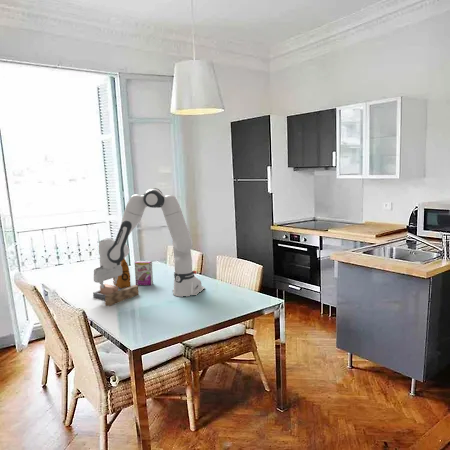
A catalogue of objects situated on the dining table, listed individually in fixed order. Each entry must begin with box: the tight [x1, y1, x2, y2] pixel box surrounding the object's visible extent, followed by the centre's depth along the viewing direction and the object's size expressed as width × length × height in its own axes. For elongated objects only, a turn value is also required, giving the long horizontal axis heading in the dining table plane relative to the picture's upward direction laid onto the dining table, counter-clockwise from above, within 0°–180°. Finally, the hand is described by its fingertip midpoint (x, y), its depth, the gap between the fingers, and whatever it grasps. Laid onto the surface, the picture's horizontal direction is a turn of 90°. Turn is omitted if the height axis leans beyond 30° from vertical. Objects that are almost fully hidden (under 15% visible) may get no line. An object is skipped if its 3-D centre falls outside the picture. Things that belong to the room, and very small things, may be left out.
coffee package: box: [112, 257, 132, 290], centre depth 265 cm, size 10×12×22 cm
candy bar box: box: [134, 260, 154, 286], centre depth 268 cm, size 11×5×16 cm, turn 84°
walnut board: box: [104, 284, 140, 307], centre depth 238 cm, size 24×3×6 cm, turn 147°
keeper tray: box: [92, 289, 119, 301], centre depth 245 cm, size 11×17×3 cm, turn 57°
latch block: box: [99, 283, 119, 295], centre depth 244 cm, size 4×12×6 cm, turn 57°
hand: (109, 285), depth 244 cm, fingers open, 8 cm apart
